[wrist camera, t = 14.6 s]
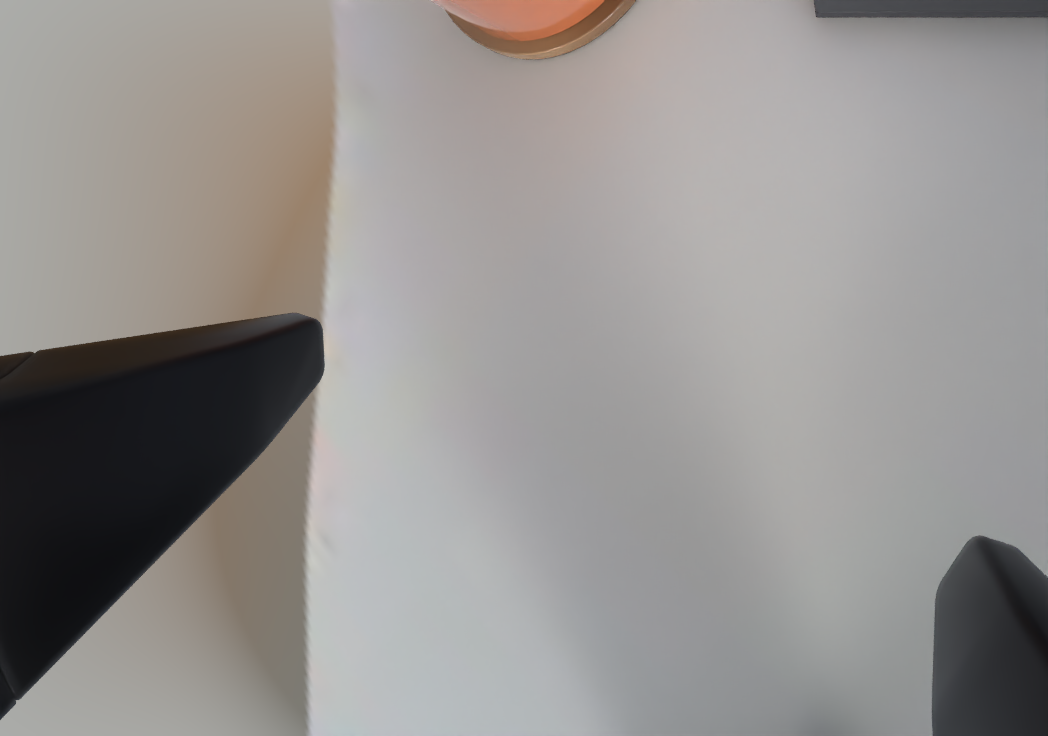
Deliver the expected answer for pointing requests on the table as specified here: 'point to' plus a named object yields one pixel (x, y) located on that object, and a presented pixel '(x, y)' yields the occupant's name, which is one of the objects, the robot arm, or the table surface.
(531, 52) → the coaster
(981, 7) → the tray
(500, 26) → the canister
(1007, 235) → the table surface
